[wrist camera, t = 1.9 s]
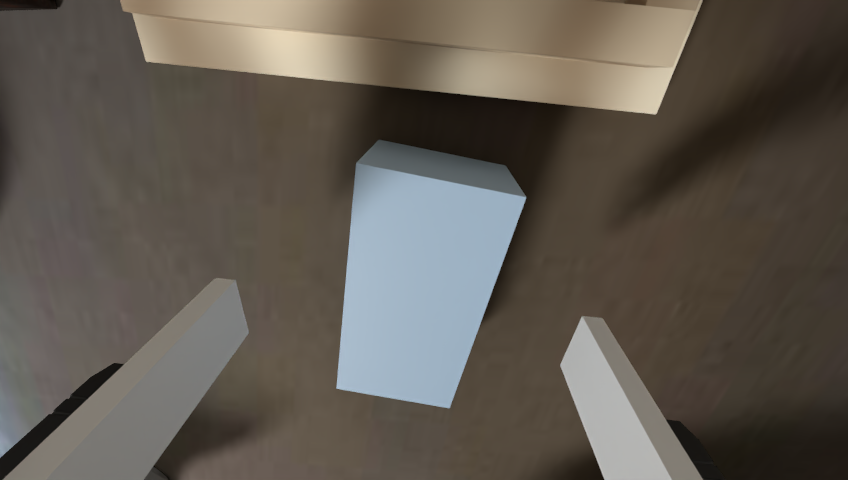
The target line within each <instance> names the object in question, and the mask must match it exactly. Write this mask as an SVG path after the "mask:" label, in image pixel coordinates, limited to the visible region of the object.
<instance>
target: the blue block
mask: <svg viewBox="0 0 848 480" xmlns="http://www.w3.org/2000/svg"><path fill="white" fill-rule="evenodd" d="M525 200H526V196H525V194H524V193H523V191H522V190H521V188H520V187H519V185H518V184H517V182H516V181H515V179H514V177H513V176H512V174H511V173H510V171H509V170H508V168H507V167H506V166H505V165H501V164H496V163H491V162H486V161H481V160H476V159H471V158H467V157H462V156H457V155H452V154H447V153H442V152H437V151H432V150H428V149H423V148H418V147H413V146H408V145H403V144H398V143H394V142H389V141H384V140H378V141H377V142H376V143H375V144H374V145H373V146H372V147H371V148H370V149H369V150H368V151H367V152H366V153H365V154H364V155H363V156H362V157H361V158H360V160H359V161H358V162H357V163H356V171H355V182H354V193H353V205H352V216H351V228H350V239H349V251H348V262H347V274H346V285H345V297H344V308H343V320H342V331H341V343H340V354H339V366H338V377H337V389H341V390H347V391H353V392H359V393H364V394H370V395H376V396H382V397H388V398H393V399H399V400H405V401H411V402H416V403H422V404H428V405H434V406H439V407H445V408H450V405H451V403H452V400H453V397H454V394H455V392H456V389H457V386H458V383H459V381H460V378H461V375H462V373H463V370H464V367H465V364H466V362H467V359H468V356H469V353H470V351H471V348H472V345H473V342H474V340H475V337H476V334H477V331H478V329H479V326H480V323H481V321H482V318H483V315H484V312H485V310H486V307H487V304H488V301H489V299H490V296H491V293H492V290H493V288H494V285H495V282H496V279H497V277H498V274H499V271H500V269H501V266H502V263H503V260H504V258H505V255H506V252H507V249H508V247H509V244H510V241H511V238H512V236H513V233H514V230H515V227H516V225H517V222H518V219H519V217H520V214H521V211H522V208H523V206H524V203H525Z"/></svg>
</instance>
